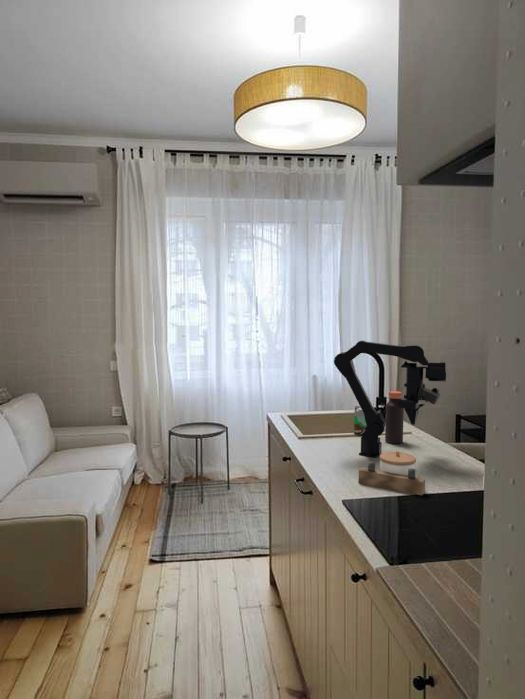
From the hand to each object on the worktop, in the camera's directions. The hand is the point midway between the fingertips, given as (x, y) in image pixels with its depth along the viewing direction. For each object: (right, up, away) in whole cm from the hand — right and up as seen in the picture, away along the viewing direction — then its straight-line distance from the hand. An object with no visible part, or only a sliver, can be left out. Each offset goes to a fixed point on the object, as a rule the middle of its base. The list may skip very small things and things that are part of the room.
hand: (413, 424), depth 177 cm
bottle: (-1, -10, +22) cm, 24 cm away
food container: (-11, -9, +38) cm, 41 cm away
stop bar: (-15, -14, -28) cm, 35 cm away
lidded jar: (-12, -14, -23) cm, 30 cm away
